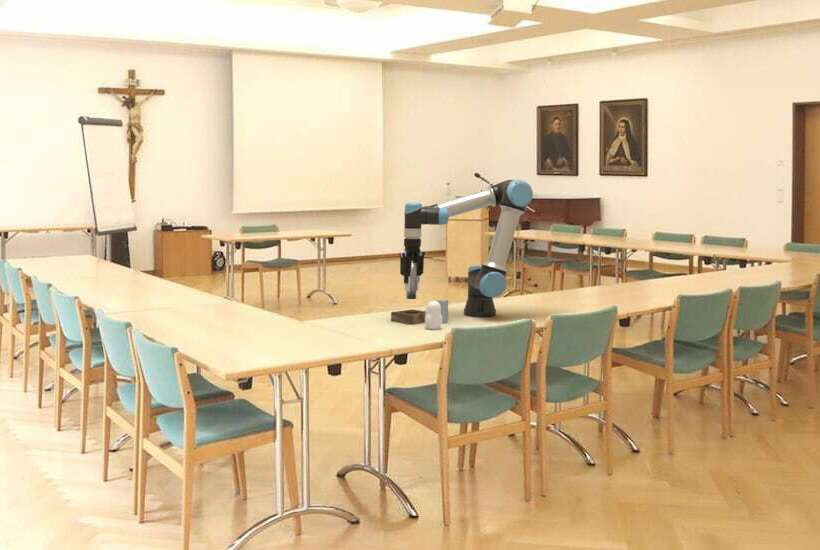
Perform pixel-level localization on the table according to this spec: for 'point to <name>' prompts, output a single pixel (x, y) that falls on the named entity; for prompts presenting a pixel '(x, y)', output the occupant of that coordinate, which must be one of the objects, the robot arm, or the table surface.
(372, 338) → the table surface
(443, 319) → the square bar
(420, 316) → the socket block
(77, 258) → the table surface
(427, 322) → the figurine
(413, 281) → the round bit
